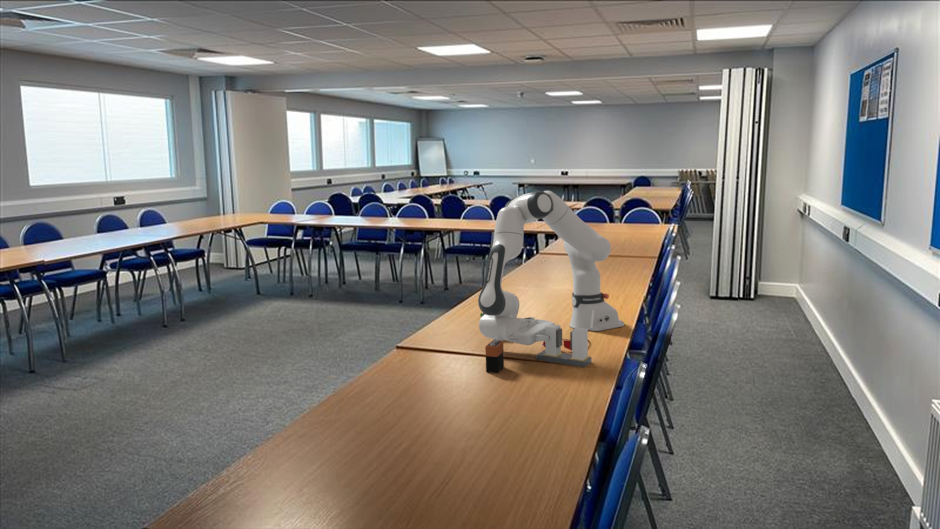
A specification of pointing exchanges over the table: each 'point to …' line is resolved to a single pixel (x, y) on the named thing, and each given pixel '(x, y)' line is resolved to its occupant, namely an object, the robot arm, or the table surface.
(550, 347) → the block
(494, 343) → the battery
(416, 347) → the table surface
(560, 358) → the rail
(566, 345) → the glasses
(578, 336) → the block
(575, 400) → the table surface
